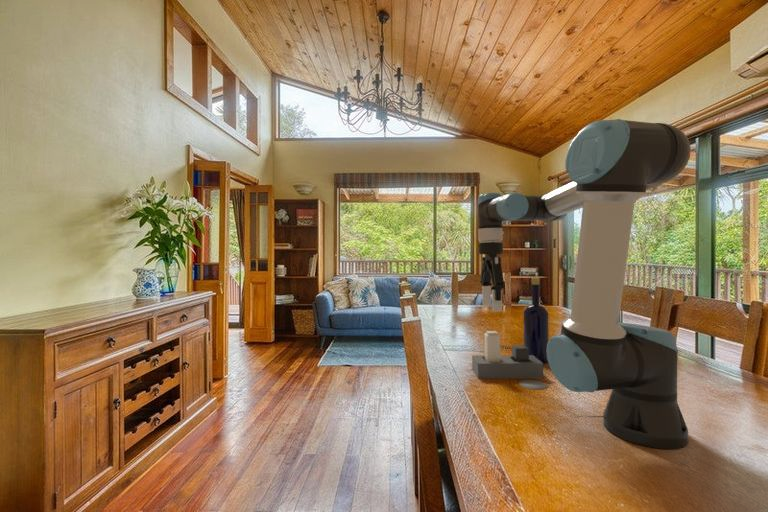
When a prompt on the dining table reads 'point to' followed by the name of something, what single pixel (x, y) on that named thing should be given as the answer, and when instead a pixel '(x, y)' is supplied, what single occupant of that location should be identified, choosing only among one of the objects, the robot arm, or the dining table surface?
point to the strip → (509, 365)
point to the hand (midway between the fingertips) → (491, 308)
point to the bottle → (536, 326)
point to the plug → (492, 346)
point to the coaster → (533, 384)
